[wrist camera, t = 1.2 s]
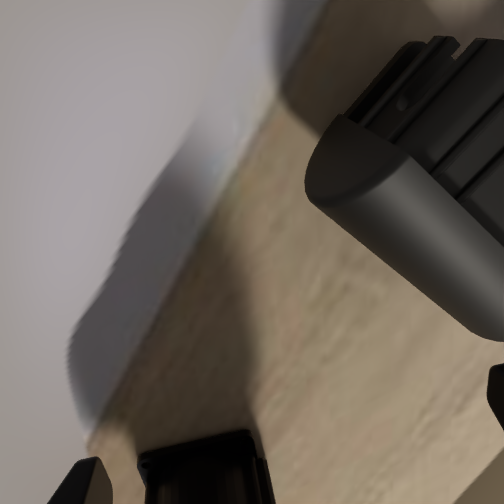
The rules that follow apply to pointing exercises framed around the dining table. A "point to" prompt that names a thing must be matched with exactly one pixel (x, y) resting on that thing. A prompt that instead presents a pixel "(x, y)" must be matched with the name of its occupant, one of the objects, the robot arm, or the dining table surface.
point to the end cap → (426, 175)
